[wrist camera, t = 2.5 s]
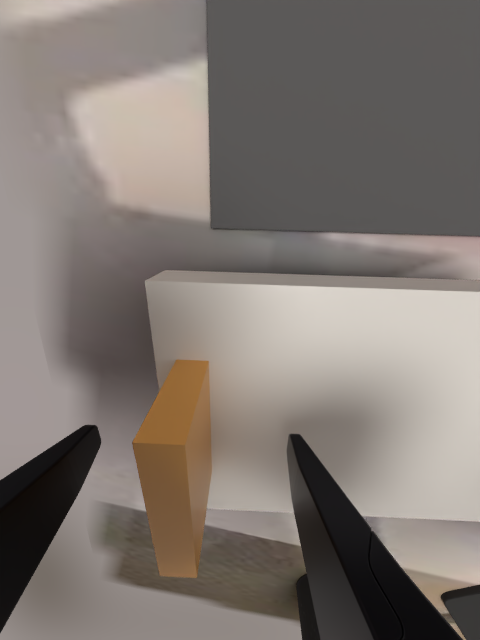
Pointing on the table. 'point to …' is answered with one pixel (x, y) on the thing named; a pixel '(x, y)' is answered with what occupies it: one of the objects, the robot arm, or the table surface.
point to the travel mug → (307, 611)
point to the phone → (465, 610)
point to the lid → (308, 397)
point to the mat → (345, 115)
